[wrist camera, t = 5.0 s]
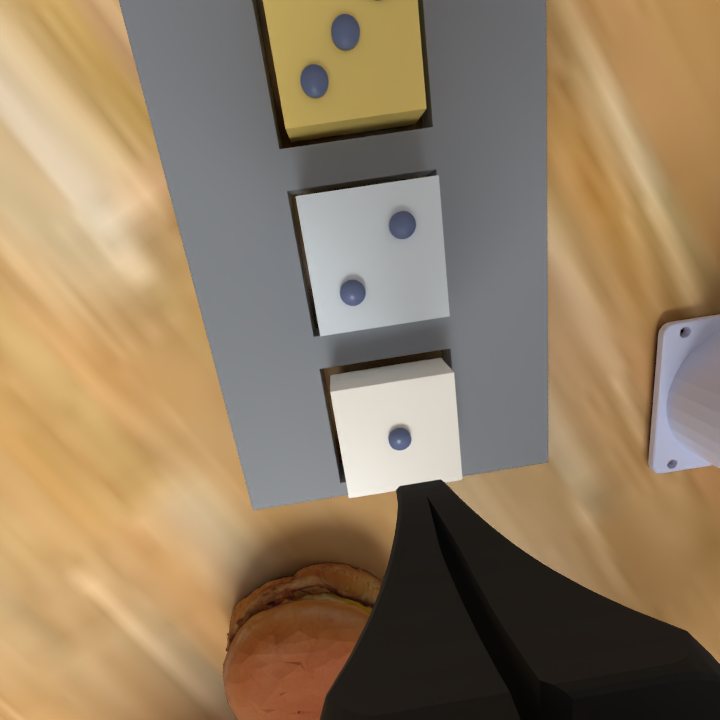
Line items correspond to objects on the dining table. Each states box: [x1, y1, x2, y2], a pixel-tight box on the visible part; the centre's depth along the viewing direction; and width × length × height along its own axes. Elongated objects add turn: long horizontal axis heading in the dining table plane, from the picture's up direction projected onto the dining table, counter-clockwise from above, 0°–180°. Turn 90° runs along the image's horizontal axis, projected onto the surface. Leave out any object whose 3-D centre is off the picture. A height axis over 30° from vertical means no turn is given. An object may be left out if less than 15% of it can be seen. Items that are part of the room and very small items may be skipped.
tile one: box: [330, 358, 462, 498], centre depth 17 cm, size 5×5×2 cm
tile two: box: [296, 175, 450, 336], centre depth 15 cm, size 5×5×2 cm
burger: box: [223, 563, 382, 720], centre depth 21 cm, size 10×9×5 cm
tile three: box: [263, 0, 427, 142], centre depth 14 cm, size 5×5×2 cm
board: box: [119, 0, 548, 510], centre depth 17 cm, size 14×21×2 cm, turn 8°
